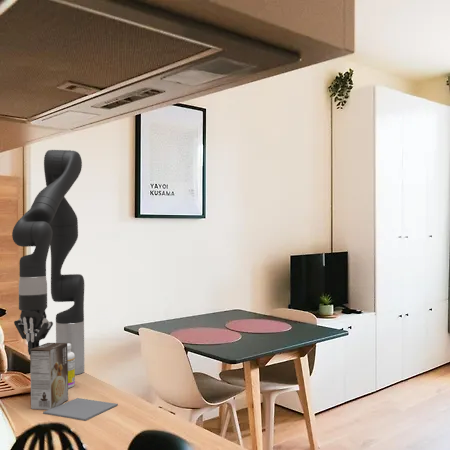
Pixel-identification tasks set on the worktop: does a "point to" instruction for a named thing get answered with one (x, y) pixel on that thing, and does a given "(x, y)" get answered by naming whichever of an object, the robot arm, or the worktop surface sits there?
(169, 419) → the worktop surface
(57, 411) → the mat
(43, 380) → the coffee box
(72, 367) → the supplement bottle
